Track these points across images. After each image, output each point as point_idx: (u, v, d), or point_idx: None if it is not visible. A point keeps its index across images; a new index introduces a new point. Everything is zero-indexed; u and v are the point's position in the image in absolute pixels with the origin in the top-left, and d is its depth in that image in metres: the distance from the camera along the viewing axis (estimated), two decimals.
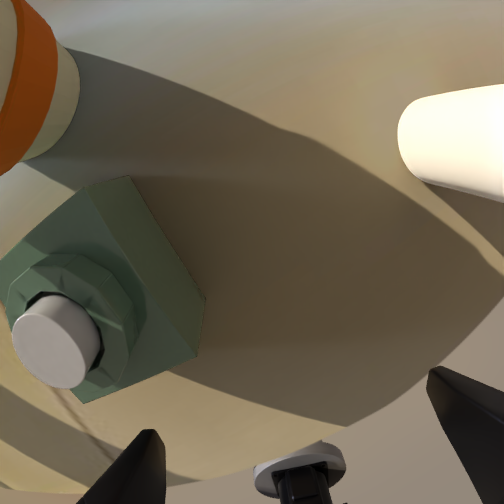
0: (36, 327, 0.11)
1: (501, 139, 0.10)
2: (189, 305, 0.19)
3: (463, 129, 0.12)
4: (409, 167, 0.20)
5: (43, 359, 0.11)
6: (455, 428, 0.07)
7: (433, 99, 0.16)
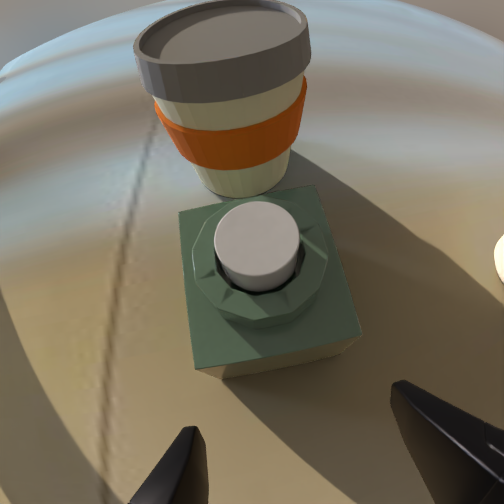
0: (263, 212, 0.16)
1: None
2: None
3: None
4: (503, 278, 0.22)
5: (248, 240, 0.15)
6: (416, 446, 0.07)
7: None
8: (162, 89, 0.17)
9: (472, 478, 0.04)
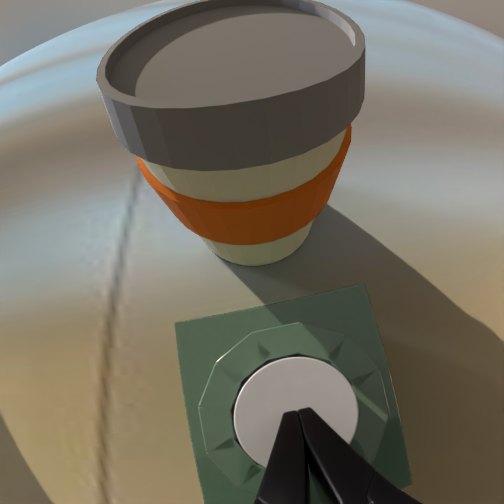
0: (307, 376, 0.10)
1: None
2: None
3: None
4: None
5: None
6: (314, 478, 0.07)
7: None
8: (139, 144, 0.11)
9: None
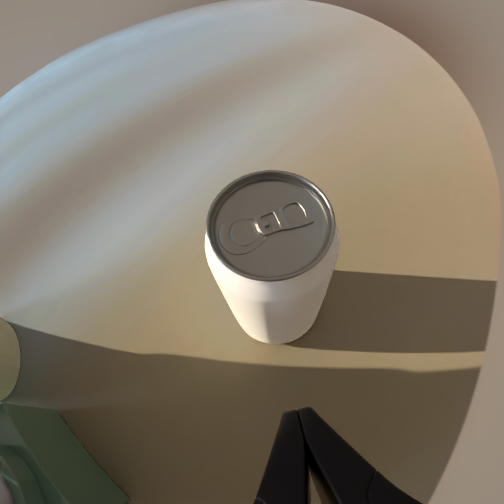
0: None
1: (209, 264, 0.15)
2: (96, 495, 0.15)
3: None
4: (256, 339, 0.23)
5: None
6: (314, 478, 0.07)
7: None
8: None
9: None
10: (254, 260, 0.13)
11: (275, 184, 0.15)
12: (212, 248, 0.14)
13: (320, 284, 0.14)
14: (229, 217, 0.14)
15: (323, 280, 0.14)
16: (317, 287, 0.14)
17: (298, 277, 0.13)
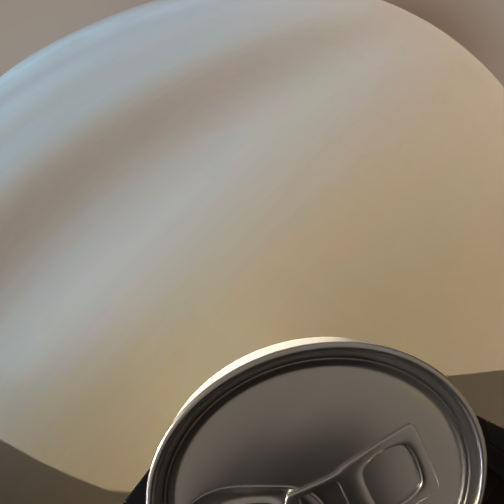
0: None
1: None
2: None
3: None
4: None
5: None
6: None
7: None
8: None
9: None
10: None
11: (343, 383, 0.05)
12: None
13: None
14: (208, 492, 0.04)
15: None
16: None
17: None
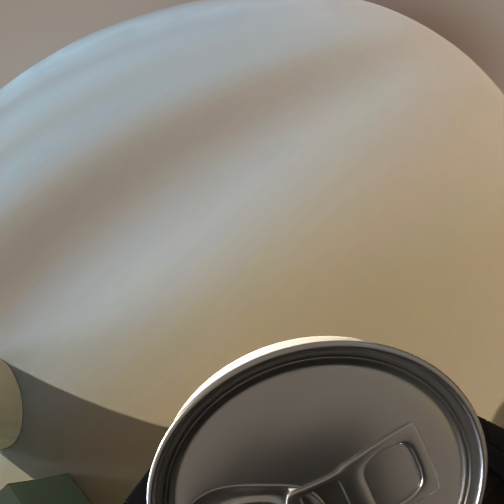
0: None
1: None
2: None
3: None
4: None
5: None
6: None
7: None
8: None
9: None
10: None
11: (344, 382, 0.05)
12: None
13: None
14: (208, 491, 0.04)
15: None
16: None
17: None
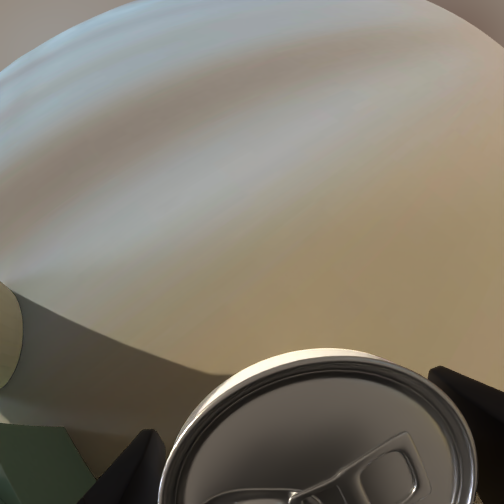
0: None
1: None
2: None
3: None
4: None
5: None
6: None
7: None
8: None
9: None
10: None
11: (343, 394, 0.05)
12: None
13: None
14: (216, 495, 0.04)
15: None
16: None
17: None
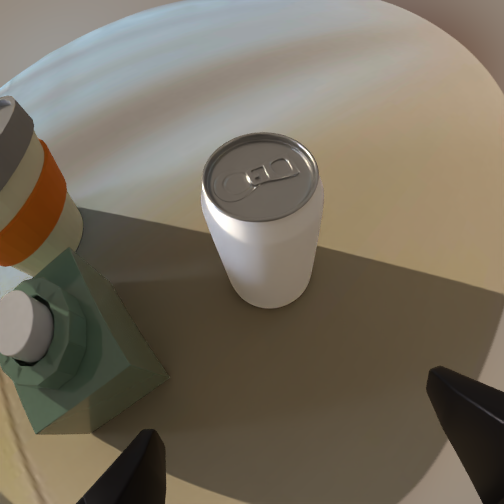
0: (11, 300, 0.15)
1: (204, 215, 0.16)
2: (141, 355, 0.20)
3: None
4: (251, 303, 0.24)
5: (7, 327, 0.14)
6: (455, 428, 0.07)
7: None
8: None
9: None
10: (245, 205, 0.15)
11: (264, 144, 0.16)
12: (207, 196, 0.15)
13: (307, 230, 0.15)
14: (222, 172, 0.16)
15: (310, 226, 0.15)
16: (304, 233, 0.15)
17: (285, 219, 0.14)
